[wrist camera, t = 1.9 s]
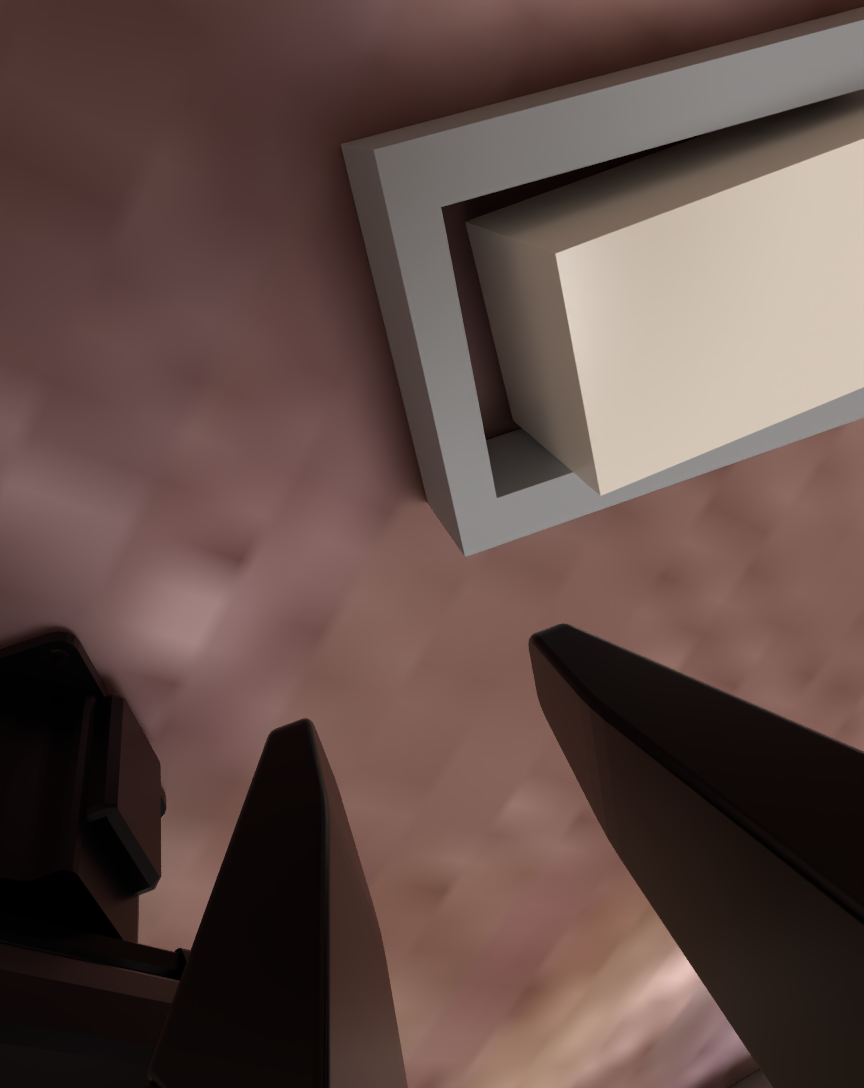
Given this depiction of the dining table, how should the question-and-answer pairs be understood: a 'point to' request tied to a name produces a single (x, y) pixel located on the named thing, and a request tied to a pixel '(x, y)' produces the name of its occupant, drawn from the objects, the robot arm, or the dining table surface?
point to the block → (683, 293)
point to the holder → (532, 154)
